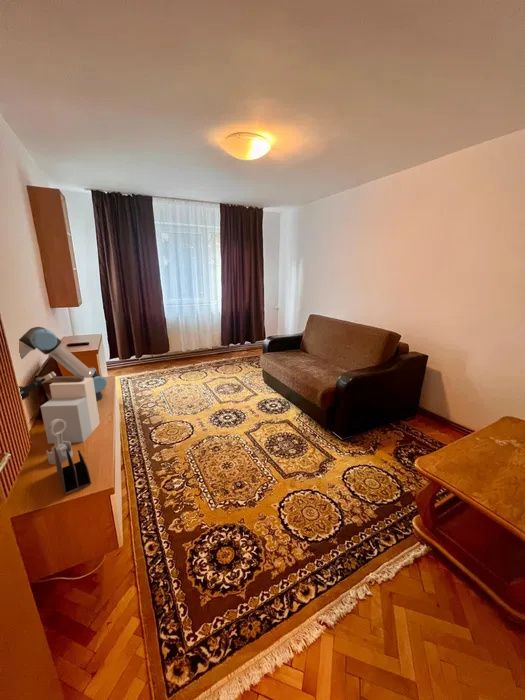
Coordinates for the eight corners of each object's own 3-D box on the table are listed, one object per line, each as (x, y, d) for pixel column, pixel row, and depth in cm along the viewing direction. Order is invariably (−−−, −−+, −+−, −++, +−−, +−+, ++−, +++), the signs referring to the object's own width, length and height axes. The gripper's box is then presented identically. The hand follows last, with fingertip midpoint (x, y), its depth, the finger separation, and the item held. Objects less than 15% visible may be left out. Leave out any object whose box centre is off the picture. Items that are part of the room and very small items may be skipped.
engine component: (43, 462, 137) (60, 465, 136) (35, 425, 132) (53, 427, 130) (62, 449, 148) (79, 452, 146) (55, 414, 142) (72, 416, 141)
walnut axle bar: (39, 380, 160) (38, 376, 159) (84, 379, 162) (83, 376, 162) (36, 382, 157) (35, 378, 156) (81, 381, 160) (81, 377, 159)
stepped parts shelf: (68, 424, 172) (60, 378, 164) (99, 423, 174) (92, 377, 166) (48, 443, 153) (37, 392, 145) (83, 442, 155) (74, 391, 147)
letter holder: (64, 496, 118) (58, 467, 114) (57, 471, 132) (51, 445, 128) (91, 484, 124) (87, 456, 120) (81, 462, 138) (77, 437, 135)
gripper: (31, 394, 168) (65, 375, 167) (11, 406, 153) (48, 385, 152) (22, 384, 166) (56, 364, 165) (1, 395, 151) (38, 374, 150)
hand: (52, 374), depth 158 cm, fingers closed on walnut axle bar, 3 cm apart
